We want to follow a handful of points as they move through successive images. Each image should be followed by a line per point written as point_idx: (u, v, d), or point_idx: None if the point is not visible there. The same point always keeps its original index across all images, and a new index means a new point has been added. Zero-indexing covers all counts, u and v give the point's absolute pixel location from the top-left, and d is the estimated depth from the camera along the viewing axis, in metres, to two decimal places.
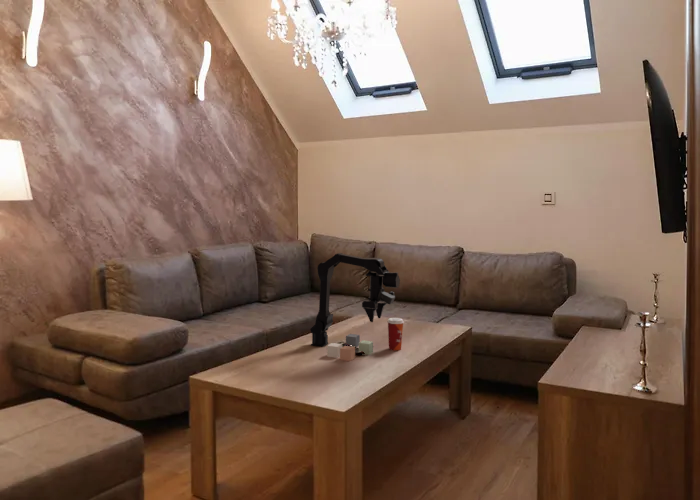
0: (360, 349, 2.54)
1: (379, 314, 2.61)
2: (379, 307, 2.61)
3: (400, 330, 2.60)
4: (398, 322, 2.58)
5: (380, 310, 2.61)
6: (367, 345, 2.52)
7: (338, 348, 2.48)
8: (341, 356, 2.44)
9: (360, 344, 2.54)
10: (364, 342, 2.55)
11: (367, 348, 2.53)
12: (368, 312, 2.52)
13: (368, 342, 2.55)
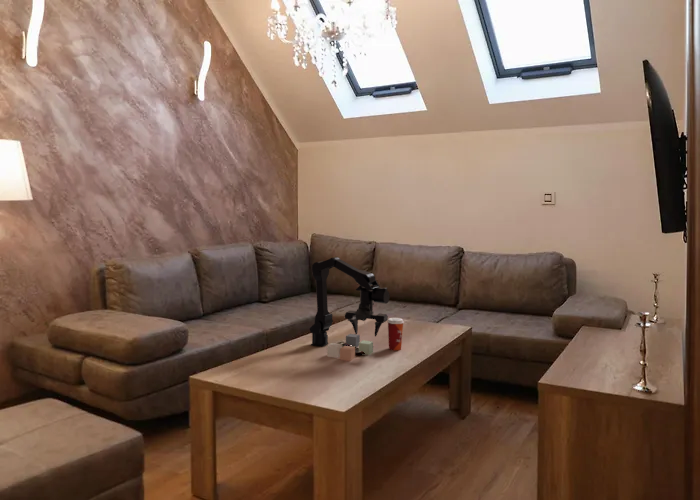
0: (360, 349, 2.54)
1: None
2: None
3: (400, 330, 2.60)
4: (398, 322, 2.58)
5: None
6: (367, 345, 2.52)
7: (338, 348, 2.48)
8: (341, 356, 2.44)
9: (360, 344, 2.54)
10: (364, 342, 2.55)
11: (367, 348, 2.53)
12: None
13: (368, 342, 2.55)
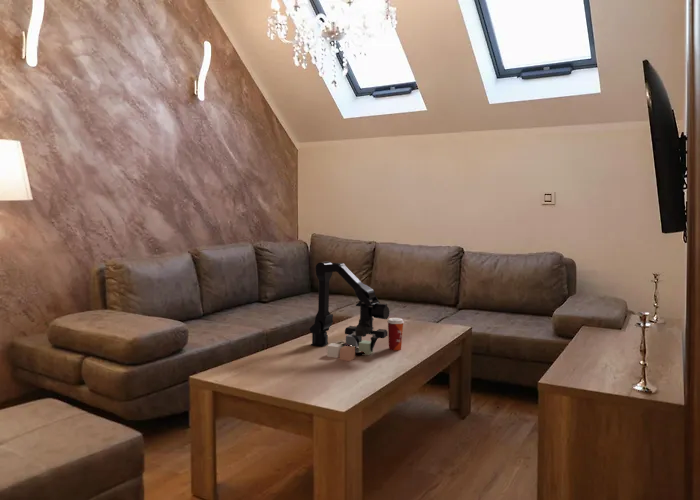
0: (360, 349, 2.54)
1: None
2: None
3: (400, 330, 2.60)
4: (398, 322, 2.58)
5: None
6: (367, 345, 2.52)
7: (338, 348, 2.48)
8: (341, 356, 2.45)
9: (360, 344, 2.54)
10: (364, 342, 2.55)
11: (367, 348, 2.53)
12: None
13: (368, 342, 2.55)
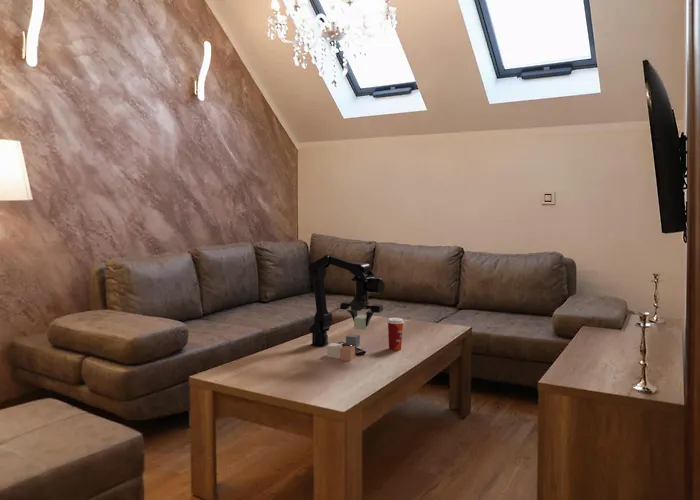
0: (355, 324, 2.53)
1: None
2: None
3: (400, 330, 2.60)
4: (398, 322, 2.58)
5: None
6: (362, 320, 2.51)
7: (338, 348, 2.48)
8: (341, 356, 2.45)
9: (355, 319, 2.52)
10: (359, 317, 2.54)
11: (362, 323, 2.51)
12: None
13: (363, 317, 2.54)
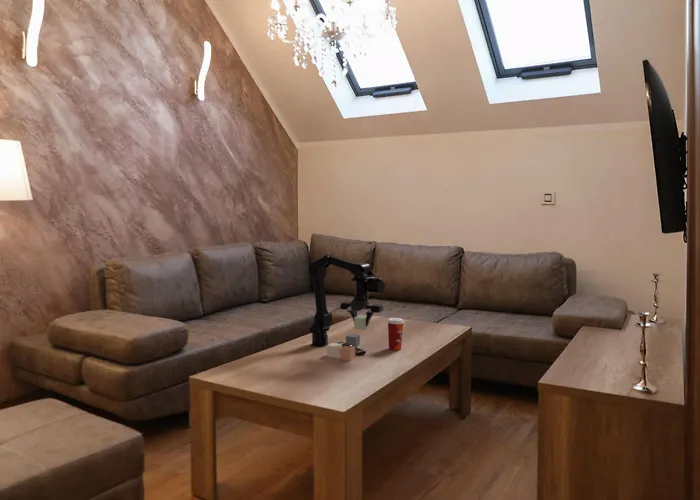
0: (355, 324, 2.53)
1: None
2: None
3: (400, 330, 2.60)
4: (398, 322, 2.58)
5: None
6: (362, 320, 2.51)
7: (338, 348, 2.48)
8: (341, 356, 2.45)
9: (355, 319, 2.52)
10: (359, 317, 2.54)
11: (362, 323, 2.51)
12: None
13: (363, 317, 2.54)
